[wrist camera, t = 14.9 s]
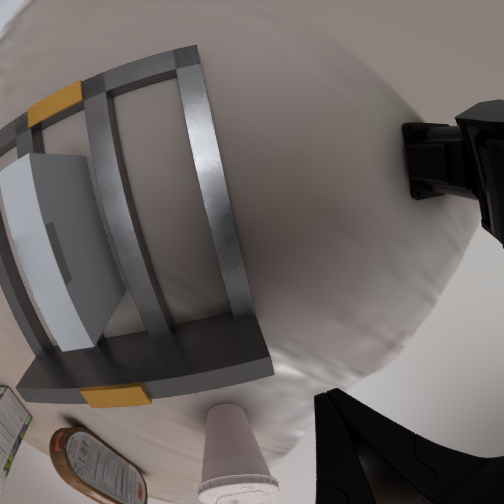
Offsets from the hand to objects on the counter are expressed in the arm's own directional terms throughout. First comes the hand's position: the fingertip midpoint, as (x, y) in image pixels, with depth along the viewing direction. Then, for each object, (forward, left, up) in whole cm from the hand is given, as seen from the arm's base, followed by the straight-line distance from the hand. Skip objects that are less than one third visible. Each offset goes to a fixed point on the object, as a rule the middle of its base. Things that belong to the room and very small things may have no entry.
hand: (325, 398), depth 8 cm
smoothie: (+6, +14, -12) cm, 20 cm away
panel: (+11, -6, -12) cm, 17 cm away
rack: (+11, -6, -12) cm, 17 cm away
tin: (+23, +19, -12) cm, 32 cm away
